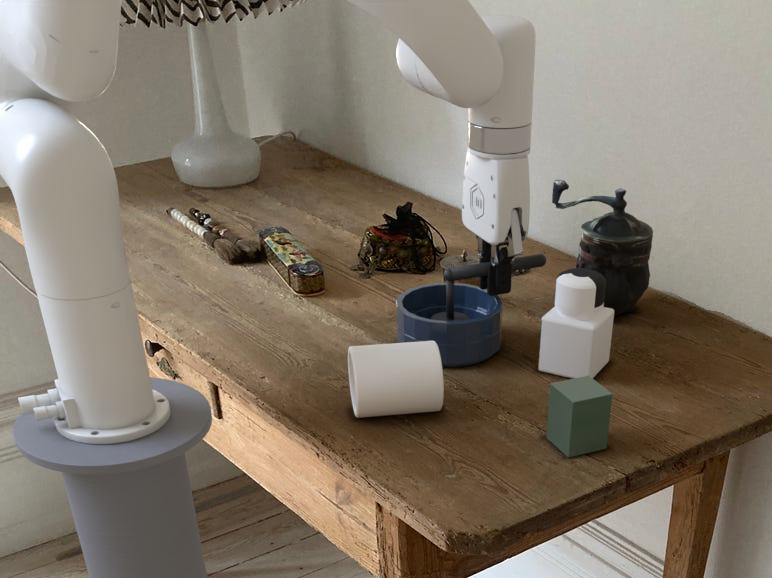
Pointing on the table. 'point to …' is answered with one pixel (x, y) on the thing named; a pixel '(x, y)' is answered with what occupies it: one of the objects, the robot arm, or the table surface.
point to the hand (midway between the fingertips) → (494, 289)
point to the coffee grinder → (614, 249)
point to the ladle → (474, 272)
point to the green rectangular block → (578, 416)
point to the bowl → (452, 322)
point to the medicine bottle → (576, 326)
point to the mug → (395, 378)
